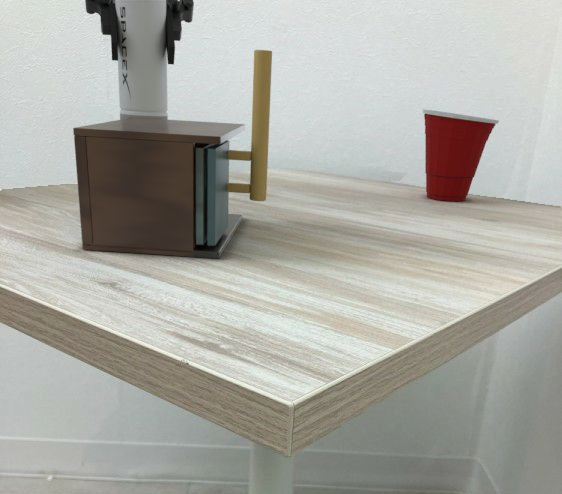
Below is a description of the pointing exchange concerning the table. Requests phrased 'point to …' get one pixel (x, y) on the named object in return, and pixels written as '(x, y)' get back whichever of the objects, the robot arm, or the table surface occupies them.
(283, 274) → the table surface
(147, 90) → the travel mug
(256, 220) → the table surface
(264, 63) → the glass door
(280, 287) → the table surface
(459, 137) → the plastic cup
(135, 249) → the brown wooden cabinet
